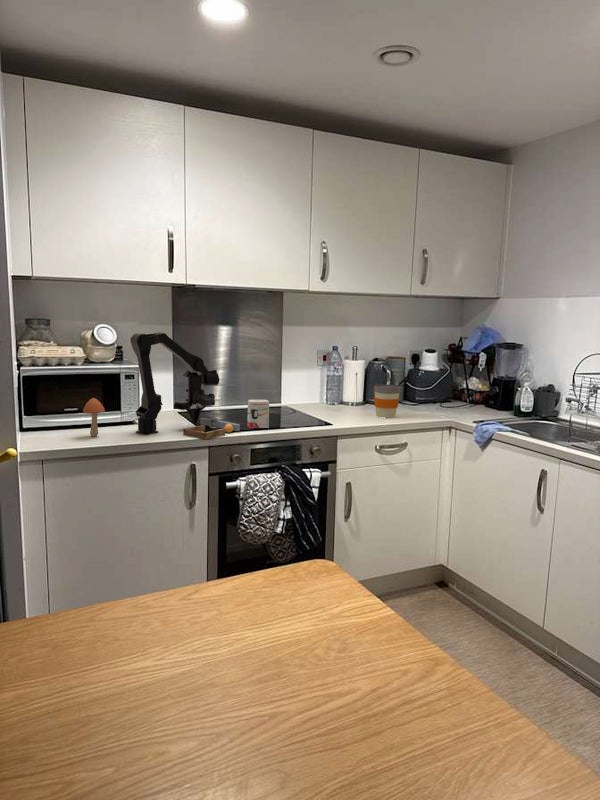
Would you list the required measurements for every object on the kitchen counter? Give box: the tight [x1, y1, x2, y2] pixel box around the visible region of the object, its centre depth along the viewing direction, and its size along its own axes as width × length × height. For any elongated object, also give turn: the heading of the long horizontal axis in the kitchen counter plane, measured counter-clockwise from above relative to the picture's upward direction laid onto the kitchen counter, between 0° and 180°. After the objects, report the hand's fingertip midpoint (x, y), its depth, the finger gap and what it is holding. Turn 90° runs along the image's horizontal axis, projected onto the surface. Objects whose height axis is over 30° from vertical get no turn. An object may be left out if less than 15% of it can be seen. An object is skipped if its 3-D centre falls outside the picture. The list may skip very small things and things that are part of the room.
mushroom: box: [82, 397, 106, 437], centre depth 219 cm, size 8×8×15 cm
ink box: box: [246, 399, 270, 430], centre depth 243 cm, size 9×5×12 cm, turn 105°
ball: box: [224, 424, 233, 434], centre depth 232 cm, size 4×4×4 cm
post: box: [208, 421, 219, 429], centre depth 242 cm, size 4×4×2 cm
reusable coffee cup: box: [373, 384, 401, 419], centre depth 276 cm, size 13×13×15 cm
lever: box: [199, 417, 241, 432], centre depth 240 cm, size 3×21×3 cm, turn 54°
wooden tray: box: [183, 424, 226, 440], centre depth 227 cm, size 11×12×2 cm
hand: (194, 423), depth 241 cm, fingers closed
